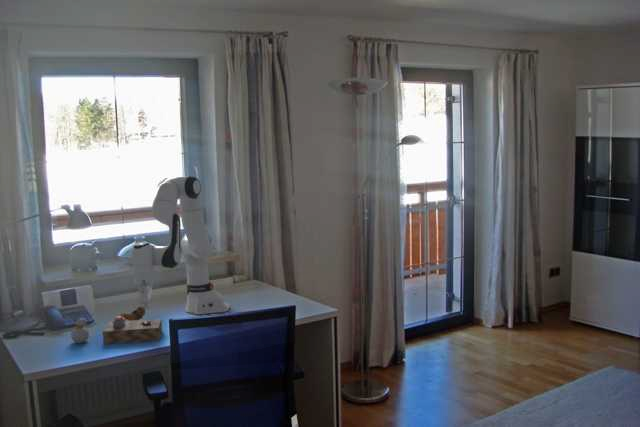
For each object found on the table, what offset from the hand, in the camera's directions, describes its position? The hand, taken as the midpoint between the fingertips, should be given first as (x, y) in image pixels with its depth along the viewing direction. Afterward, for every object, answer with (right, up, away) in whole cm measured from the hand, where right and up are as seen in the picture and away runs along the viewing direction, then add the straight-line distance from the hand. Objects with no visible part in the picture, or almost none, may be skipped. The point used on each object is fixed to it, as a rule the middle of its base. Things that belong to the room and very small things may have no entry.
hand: (147, 307), depth 299 cm
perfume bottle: (-28, -15, -4) cm, 32 cm away
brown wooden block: (-6, -14, +1) cm, 15 cm away
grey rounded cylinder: (-12, -9, -1) cm, 16 cm away
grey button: (0, -12, +1) cm, 12 cm away
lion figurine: (-13, -12, +20) cm, 26 cm away
